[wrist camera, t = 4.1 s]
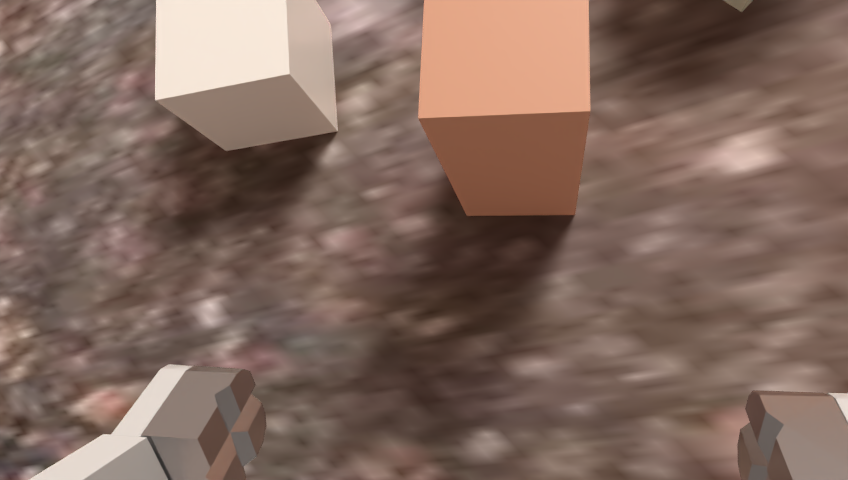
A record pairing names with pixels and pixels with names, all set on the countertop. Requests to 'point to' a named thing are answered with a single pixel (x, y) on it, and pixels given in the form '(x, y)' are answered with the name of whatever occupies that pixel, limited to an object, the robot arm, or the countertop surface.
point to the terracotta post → (507, 101)
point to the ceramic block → (246, 69)
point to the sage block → (739, 4)
